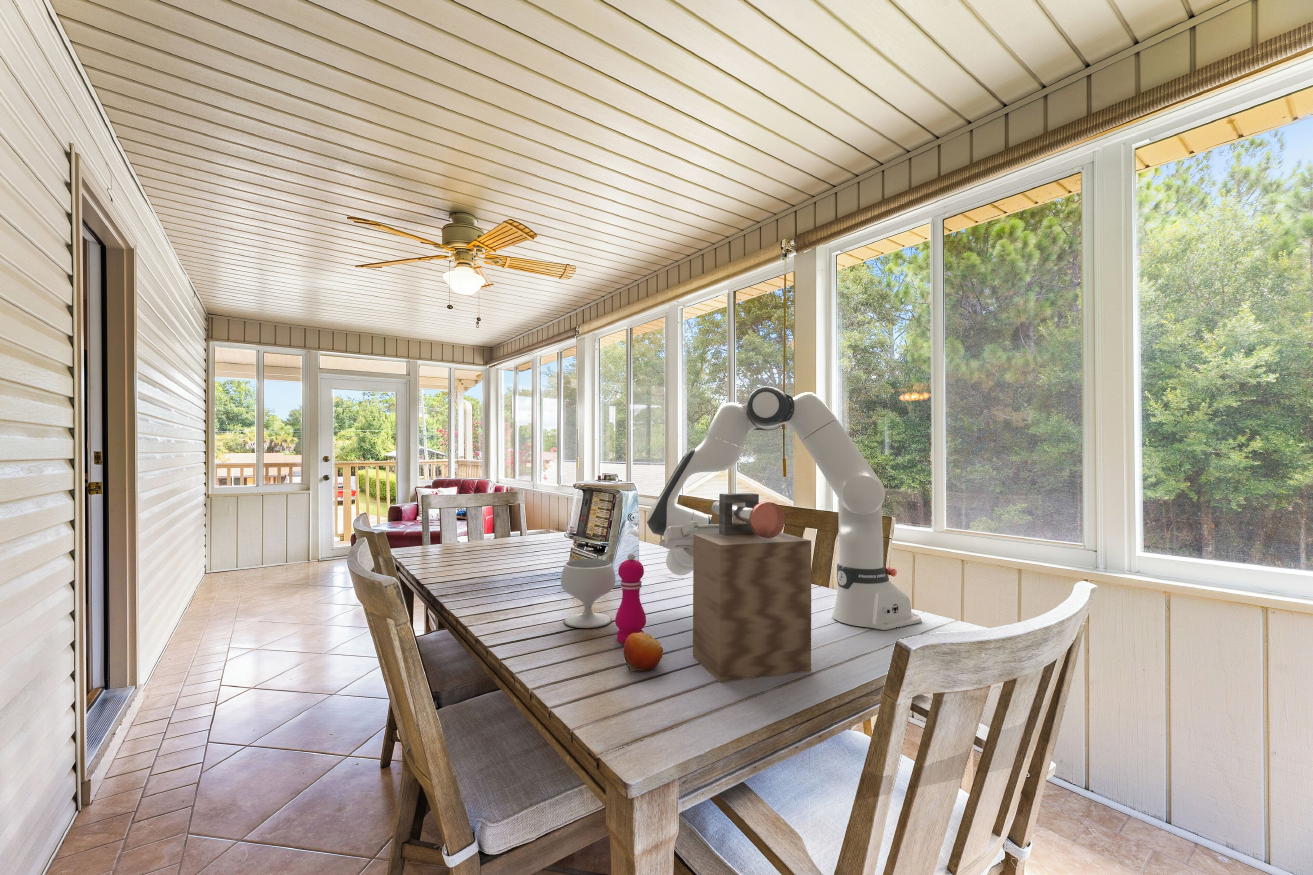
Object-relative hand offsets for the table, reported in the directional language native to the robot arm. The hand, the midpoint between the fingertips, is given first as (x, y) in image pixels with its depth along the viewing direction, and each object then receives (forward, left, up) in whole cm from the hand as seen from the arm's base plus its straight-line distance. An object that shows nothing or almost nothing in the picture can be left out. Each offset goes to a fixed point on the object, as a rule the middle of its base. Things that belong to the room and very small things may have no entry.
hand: (713, 523), depth 135 cm
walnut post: (0, +20, -26) cm, 33 cm away
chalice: (+27, -17, -27) cm, 42 cm away
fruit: (+22, +16, -27) cm, 38 cm away
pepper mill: (+20, -1, -27) cm, 33 cm away
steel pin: (0, +15, +1) cm, 15 cm away
